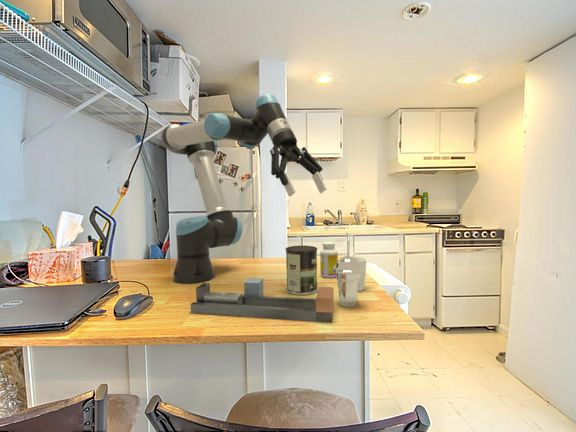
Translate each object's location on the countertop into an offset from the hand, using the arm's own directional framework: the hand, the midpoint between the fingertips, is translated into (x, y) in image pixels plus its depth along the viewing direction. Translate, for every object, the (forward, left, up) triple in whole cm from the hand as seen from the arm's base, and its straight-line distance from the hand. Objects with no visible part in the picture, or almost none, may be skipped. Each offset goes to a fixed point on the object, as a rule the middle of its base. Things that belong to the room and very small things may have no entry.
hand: (308, 192), depth 90 cm
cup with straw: (+12, -5, -32) cm, 35 cm away
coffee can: (-3, +5, -32) cm, 33 cm away
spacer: (-16, -6, -32) cm, 37 cm away
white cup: (+14, +9, -32) cm, 36 cm away
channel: (-11, -14, -32) cm, 37 cm away
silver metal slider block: (-24, -14, -32) cm, 42 cm away
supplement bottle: (+5, +23, -32) cm, 40 cm away
